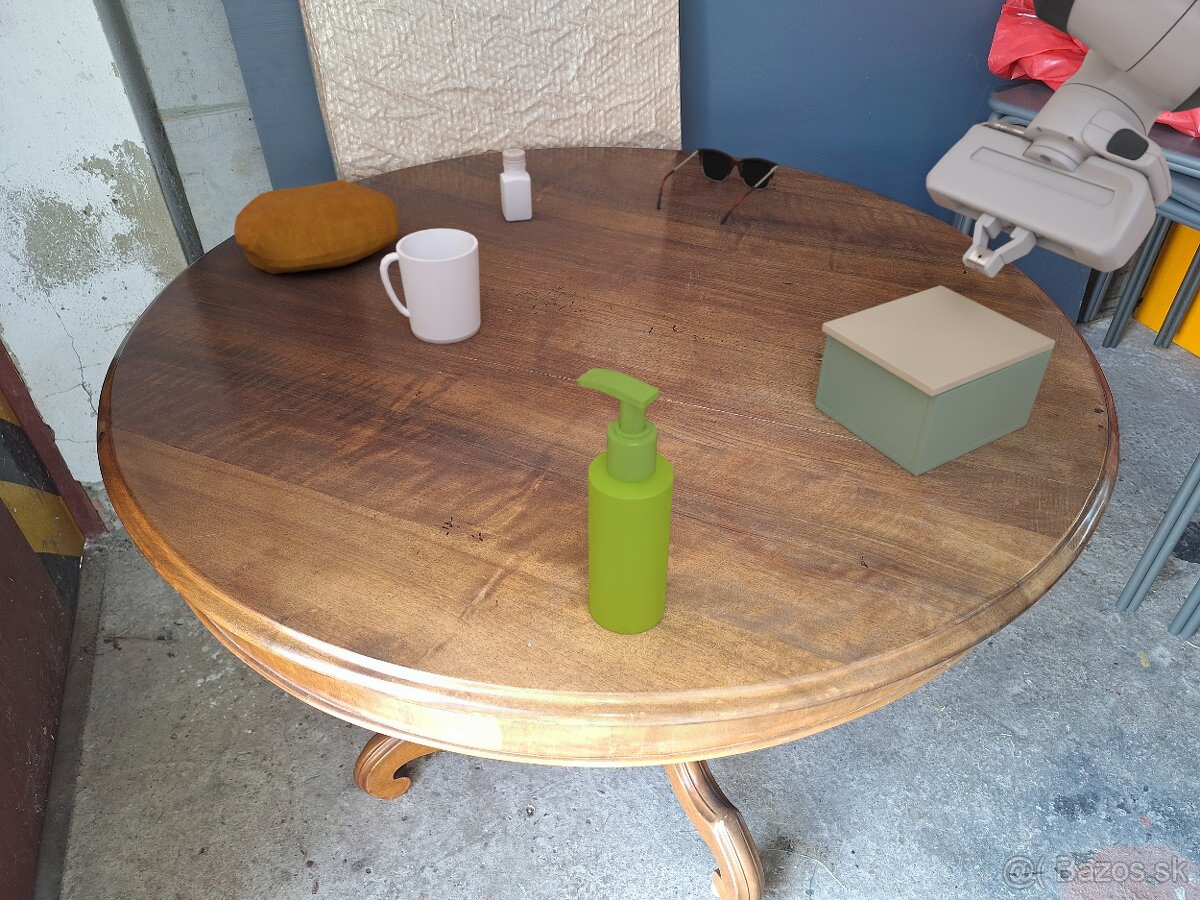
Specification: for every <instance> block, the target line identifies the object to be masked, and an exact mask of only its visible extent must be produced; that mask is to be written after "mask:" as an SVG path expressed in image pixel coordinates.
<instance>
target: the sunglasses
mask: <svg viewBox="0 0 1200 900" xmlns="http://www.w3.org/2000/svg"><path fill="white" fill-rule="evenodd" d="M697 155H698V159H699V166H701V168H702V172H703V175H704V176H705V178H707V179H709V180H711V181H714V182H717V183H718V182H724V181H725V180H726V179H727V177H729V176H730V175H731V174H732V172H733V170H734V167H737V170H738V174H739V177H740V178H741V179H742V180H743V183H744V185H745V186H746V187H747V188H749V190H747V191H746V192H745V193H744V194H743V195H741V196H740V197H739V199H738V200H737V201H736V202H735V203H734V205H733V206H731V208H730V209H729V210H728V212H727V213H726V214H725V215H724V216H723V217H722V219H721V220H720V224H722V225H724V224H725V223H726V222H727V220H728V218H729V217H730V216H731V214H732V213H733V212H734V210H735V209H736V208H737V207H738V206H739V205H740V203H741V202H742V201H743V200H744V199H745V198H747V197H748V196H749V195H750V194H751V193H752V192H753V191H754V190H756V191H759V190H760V191H762V190H765V189H767V187H769V185H770V182H771V180H773V179H774V176H775V171H776V170H778V169H779V163H777V162H774V161H772V160H769V159H765V158H762V157H745V158H742V159H741V160H736V159H735V158H734V157H733V156H731V155H730V154H729V153H726V152H725V151H722V150H720V149H717V148H716V149H715V148H707V147H703V148H697V149H696V150H695V151H694V152H693V153H692V154H691V155H690V156H688V157H687V158H686V159H685V160H683V162H681V163H680V164H679V165H677V166H676V167H675V168H673V169H672V170H670V171H669V172H668V173H667V174H666V175H664V177H663V179H662V180H661V183H660V186H659V187H660V188H659V192H658V198H657V204H656V209H657V210H660V209H661V206H662V196H663V190H664V186H665V183H666V182H667V179H668V178H669V177H670V176H672V175H673V174H674V173H675V172H676V171H677V170H678V169H679V168H681V167H682V166H683V165H685V164H686V163H687V162H688V161H689V160H691V159H692V158H694V157H695V156H697Z"/></svg>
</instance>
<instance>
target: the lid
mask: <svg viewBox="0 0 1200 900" xmlns="http://www.w3.org/2000/svg"><path fill="white" fill-rule="evenodd" d="M821 331H822V332H823V333H825V334H826V335H827V334H828V335H830V336H832V337H833V338H835V339H837V340H838V341H840V342H842V343H843V344H845V345H847V346H848V347H850V348H852V349H853V350H855V351H857V352H858V353H860V354H862V355H863V356H865V357H867V358H868V359H870V360H872V361H873V362H875V363H877V364H878V365H880V366H882V367H883V368H885V369H887V370H888V371H890V372H892V373H893V374H895V375H897V376H898V377H900V378H902V379H903V380H905V381H907V382H908V383H910V384H912V385H913V386H915V387H917V388H918V389H920V390H922V391H923V392H925V393H927V394H928V395H930V396H932V397H933V396H935V395H938V394H940V393H943V392H945V391H948V390H950V389H953V388H955V387H958V386H960V385H963V384H965V383H968V382H970V381H973V380H975V379H978V378H980V377H983V376H985V375H988V374H990V373H993V372H995V371H998V370H1000V369H1003V368H1005V367H1008V366H1010V365H1013V364H1015V363H1018V362H1020V361H1023V360H1025V359H1028V358H1030V357H1033V356H1035V355H1038V354H1040V353H1043V352H1045V351H1048V350H1050V349H1054V347H1055V345H1056V340H1055V339H1053V338H1050V337H1048V336H1046V335H1044V334H1042V333H1040V332H1038V331H1036V330H1034V329H1032V328H1030V327H1028V326H1026V325H1024V324H1022V323H1020V322H1017V321H1015V320H1014V319H1012V318H1009V317H1007V316H1005V315H1003V314H1001V313H999V312H997V311H995V310H993V309H991V308H989V307H987V306H985V305H983V304H981V303H978V302H977V301H974V300H972V299H970V298H968V297H966V296H964V295H962V294H960V293H958V292H956V291H954V290H952V289H951V288H947V287H946V286H943V285H941V284H940V285H937V286H934V287H931V288H928V289H925V290H923V291H918V292H916V293H912V294H911V295H907V296H903V297H899V298H897V299H894V300H891V301H888V302H885V303H882V304H879V305H874V306H872V307H869V308H866V309H863V310H861V311H857V312H854V313H851V314H848V315H844V316H841V317H839V318H836V319H833V320H830V321H827V322H823V323H822V327H821Z"/></svg>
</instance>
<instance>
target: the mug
mask: <svg viewBox="0 0 1200 900" xmlns="http://www.w3.org/2000/svg"><path fill="white" fill-rule="evenodd" d="M395 251H396V252H390V253H388V254H386V255H385V256H384V257H382V258H381V261H380V266H379V273H380V278H381V281H382V284H383V286H384V289H385V292H386V294H387V296H388V297H389V299H390V300H391V302H392V304H393V305H394V306H395V308H396V309H397V310H398V312H399V313H401V314H402V315H403V316H404V317H406V318H408V319H409V324H410V329H411V332H412V333H413V335H414V337H416V338H417V339H419V340H421V341H422V342H425V343H428V344H429V343H430V344H434V345H448V344H455V343H460V342H463V341H465V340H468V339H470V338H472V337H474V336H475V335H476V334H477V333H478V332H479V330H480V328H481V325H482V322H481V319H482V318H481V291H480V289H481V288H480V264H479V263H480V262H479V261H480V259H479V258H480V257H479V242H478V239H477V238H476V236H475V235H473V234H472V233H469V231H464V230H460V229H456V228H442V227H441V228H429V229H425V230H424V229H423V230H418V231H416V232H415V231H414V232H412V233H409V234H407V235H405V236H403V237H402V238H401V239H400V240H398V242H397V243H396V245H395ZM395 261H397V262H398V268H399V273H400V278H401V282H402V288H403V293H404V299H405V303H406V307H405V306H404V305H403V304H402V303H401V301H400V300H399V299H398V297H397V295H396V293H395V290H394V289H393V285H392V284H391V280H390V277H389V273H388V269H389V266H390V265H391V263H393V262H395Z"/></svg>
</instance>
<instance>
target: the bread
mask: <svg viewBox="0 0 1200 900" xmlns="http://www.w3.org/2000/svg"><path fill="white" fill-rule="evenodd" d="M397 211H398V210H397V206H396V205H395V203H394V201H393V199H392V198H391V197H389V196H388V195H386V194H384V193H383V192H380V191H377V190H374V189H371V188H368V187H366V186H362V185H360V184H358V183H354V182H350V181H346V180H342V179H337V180H332V181H327V182H323V183H318V184H312V185H311V184H310V185H306V186H305V185H304V186H298V187H290V188H289V187H288V188H281V189H273V190H271V191H266V192H262V193H260V194H259V195H257V196H256V197H254V198H253V199H251V200H250V201H249V202H248V203H247V204H245V206H244V207H243V208H242V209H241V210H240V211H239V213H237V215H236V218H235V222H234V228H233V229H234V230H233V231H234V232H233V234H234V237H235V242H236V244H237V246H239V247H240V249H241V250H242V251H243V253H244V255H245V258H246V259H247V260H248V262H249V263H250V265H252V266H253V267H255V268H256V269H259V270H262V271H263V272H266V273H270V274H289V273H290V274H291V273H299V272H304V271H313V270H322V269H332V268H339V267H344V266H347V265H350V264H354V263H357V262H358V261H361V260H363V259H364V258H367V257H370V256H372V255H373V254H376V253H377V252H379V251H381V250H382V249H384V248H386V247H387V246H389V245H390V244H392V243H393V242H394V241H395V240H396V239H397V238H398V237H399V234H400V224H399V218H398V212H397Z"/></svg>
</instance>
